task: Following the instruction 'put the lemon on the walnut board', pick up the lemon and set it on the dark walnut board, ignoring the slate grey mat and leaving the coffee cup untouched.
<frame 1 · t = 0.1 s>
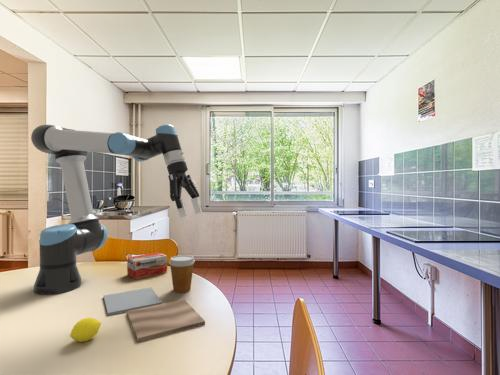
hand: (191, 215, 112), 28 cm above the table, tool tilted 20°, fingers open, 13 cm apart
disposable coffee cup: (182, 290, 108), on the table
walnut board: (164, 319, 84), on the table
slate grey mat: (131, 301, 97), on the table
medicine box: (147, 274, 128), on the table
lemon: (86, 340, 73), on the table
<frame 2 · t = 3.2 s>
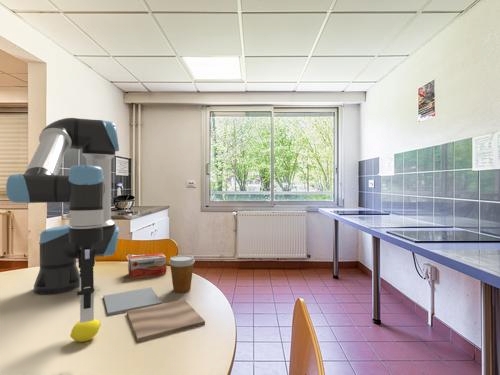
hand: (86, 310, 72), 7 cm above the table, tool pointing down, fingers open, 13 cm apart
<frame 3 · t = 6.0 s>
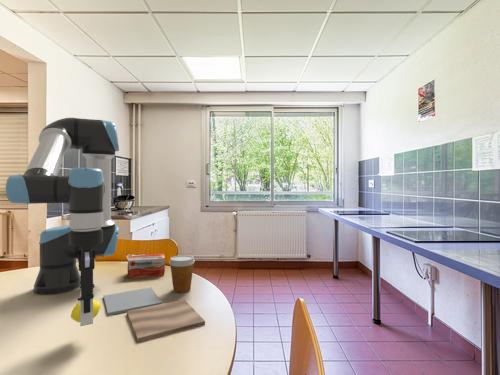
hand: (86, 319, 73), 5 cm above the table, tool pointing down, fingers closed on lemon, 5 cm apart
lemon: (86, 321, 73), point 4 cm above the table, touching gripper
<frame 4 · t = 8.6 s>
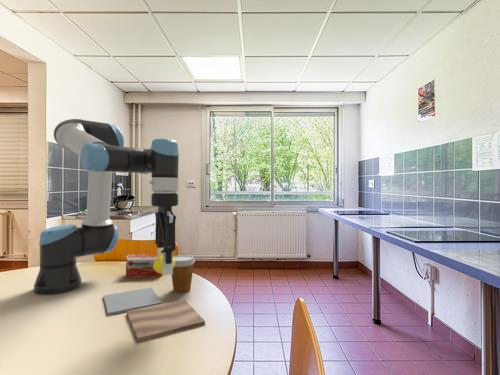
hand: (164, 271, 84), 14 cm above the table, tool pointing down, fingers closed on lemon, 5 cm apart
lemon: (164, 273, 84), point 13 cm above the table, touching gripper
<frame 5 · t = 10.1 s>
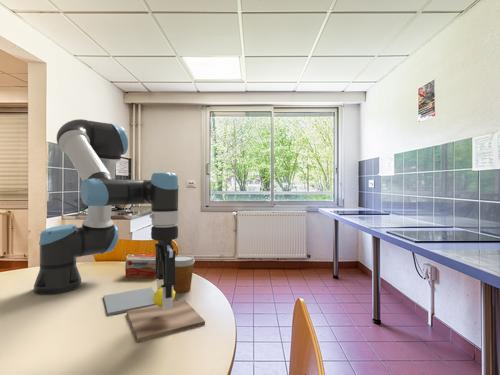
hand: (164, 304, 84), 4 cm above the table, tool pointing down, fingers closed on lemon, 5 cm apart
lemon: (164, 306, 84), point 4 cm above the table, touching gripper
when the fingers open (2 cm above the table, at t = 11.4 s): lemon stays where it is, resting on walnut board.
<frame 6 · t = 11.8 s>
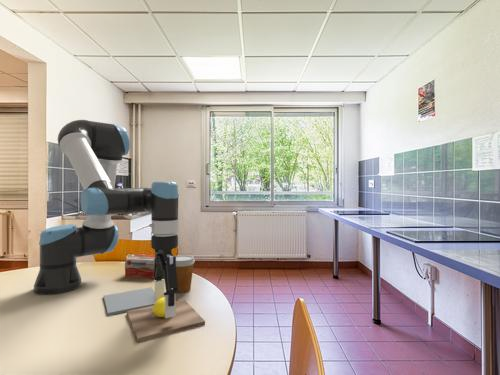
hand: (164, 308, 84), 3 cm above the table, tool pointing down, fingers open, 11 cm apart
lemon: (164, 316, 84), point 1 cm above the table, touching walnut board
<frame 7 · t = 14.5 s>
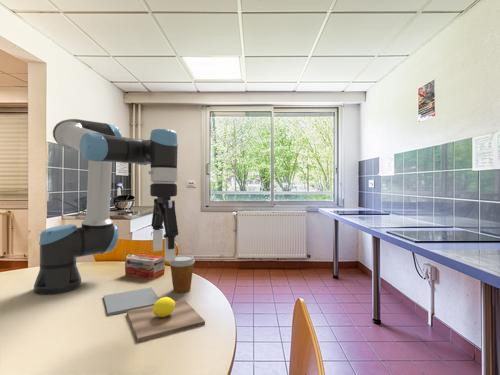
hand: (163, 255, 84), 19 cm above the table, tool pointing down, fingers open, 13 cm apart
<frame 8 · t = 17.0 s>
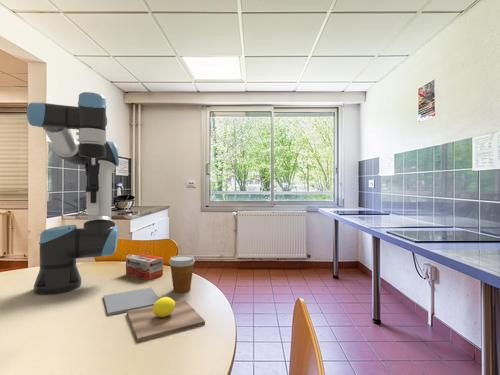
hand: (92, 212, 89), 31 cm above the table, tool pointing down, fingers open, 13 cm apart
at the end: lemon inside the target area on the walnut board (0.1 cm from its centre), point 0.8 cm above the walnut board's base; lemon touching walnut board; disposable coffee cup moved 0.2 cm from its start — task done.
